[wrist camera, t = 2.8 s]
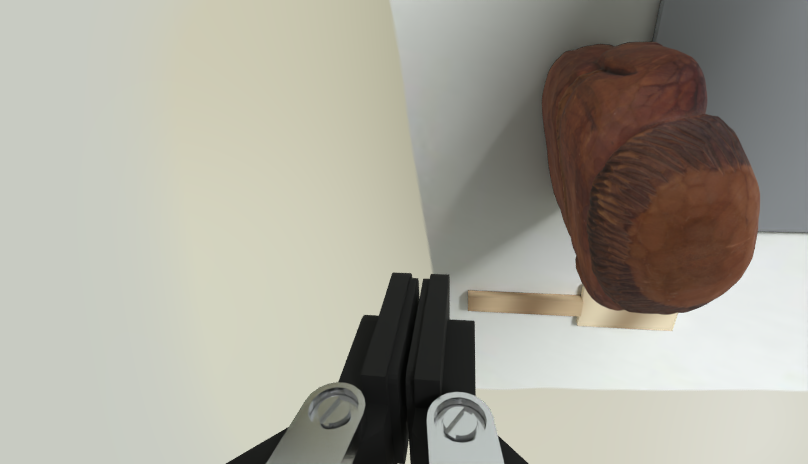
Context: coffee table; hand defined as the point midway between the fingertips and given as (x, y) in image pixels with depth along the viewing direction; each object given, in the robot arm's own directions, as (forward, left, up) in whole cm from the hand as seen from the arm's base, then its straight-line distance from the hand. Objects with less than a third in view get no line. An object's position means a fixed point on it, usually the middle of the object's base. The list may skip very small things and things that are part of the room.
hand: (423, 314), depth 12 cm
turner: (+16, +10, -22) cm, 29 cm away
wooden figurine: (0, +9, -22) cm, 24 cm away
